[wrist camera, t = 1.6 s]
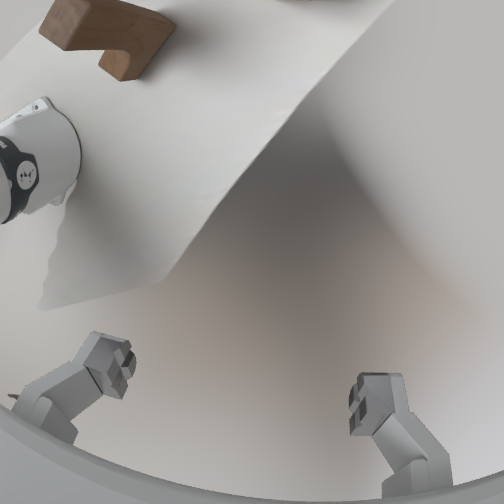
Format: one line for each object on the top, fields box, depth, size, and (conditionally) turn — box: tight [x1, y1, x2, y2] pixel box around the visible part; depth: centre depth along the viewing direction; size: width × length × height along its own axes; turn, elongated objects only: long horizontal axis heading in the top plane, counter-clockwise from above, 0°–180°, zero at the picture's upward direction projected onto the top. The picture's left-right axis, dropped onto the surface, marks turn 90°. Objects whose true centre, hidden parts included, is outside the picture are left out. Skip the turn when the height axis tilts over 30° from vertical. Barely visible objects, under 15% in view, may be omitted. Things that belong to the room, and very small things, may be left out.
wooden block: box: [39, 0, 176, 82], centre depth 23 cm, size 9×4×18 cm, turn 139°
